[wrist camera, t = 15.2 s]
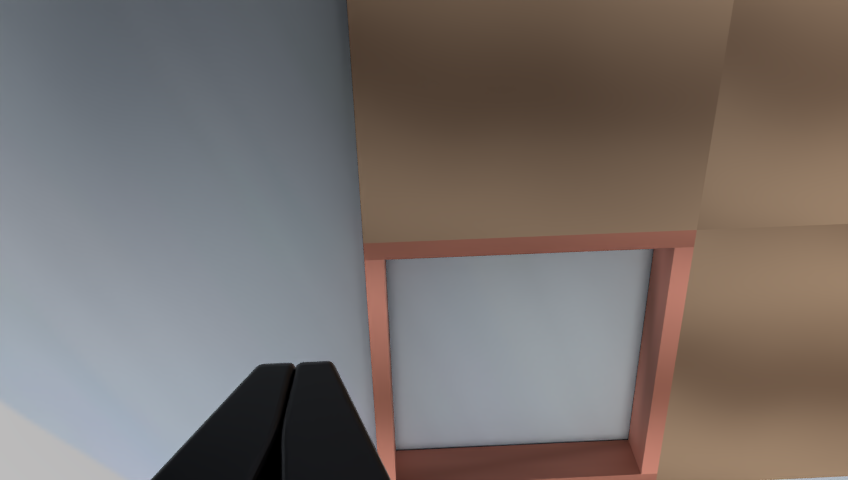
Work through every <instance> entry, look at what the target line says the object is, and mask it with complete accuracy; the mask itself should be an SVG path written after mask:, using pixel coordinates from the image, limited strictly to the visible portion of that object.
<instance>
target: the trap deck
mask: <svg viewBox="0 0 848 480" xmlns="http://www.w3.org/2000/svg"><path fill="white" fill-rule="evenodd" d="M347 13H348V27H349V42H350V57H351V71H352V86H353V101H354V115H355V130H356V145H357V159H358V174H359V189H360V203H361V218H362V233H363V247H364V262H365V276H366V291H367V306H368V320H369V335H370V350H371V364H372V379H373V394H374V408H375V423H376V438H377V452H378V455H379V457H380V459H381V461H382V463H383V465H384V467H385V469H386V471H387V473H388V475H389V477H390V479H391V480H775V479H796V478H816V477H837V476H848V0H347ZM633 249H654V252H653V259H652V267H651V274H650V282H649V289H648V297H647V304H646V311H645V319H644V326H643V334H642V341H641V349H640V356H639V364H638V371H637V378H636V386H635V393H634V401H633V408H632V416H631V423H630V431H629V438H628V440H615V441H593V442H572V443H551V444H530V445H508V446H487V447H466V448H445V449H423V450H402V451H396V447H395V428H394V409H393V390H392V372H391V353H390V334H389V315H388V296H387V278H386V260H389V259H413V258H438V257H462V256H486V255H511V254H535V253H560V252H584V251H608V250H633Z"/></svg>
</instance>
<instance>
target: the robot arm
mask: <svg viewBox="0 0 848 480" xmlns="http://www.w3.org/2000/svg"><path fill="white" fill-rule="evenodd" d="M151 480H391V479H390V477H389V475H388V473H387V471H386V469H385V467H384V465H383V463H382V461H381V459H380V457H379V455H378V452H377V450H376V448H375V446H374V444H373V442H372V440H371V438H370V436H369V434H368V432H367V430H366V428H365V426H364V424H363V422H362V420H361V418H360V416H359V414H358V412H357V410H356V408H355V406H354V404H353V402H352V400H351V398H350V396H349V394H348V392H347V390H346V388H345V386H344V384H343V382H342V380H341V378H340V375H339V373H338V371H337V369H336V367H335V366H334V364H333V363H332V362H330V361H319V362H302V363H300V364H298V365H297V366H296V367H295V366H294V364H292V363H273V364H261V365H259V366H257V367H256V368H255V369H254V370H253V371H252V372H251V373H250V374H249V376H248V377H247V378H246V379H245V380H244V381H243V382H242V383H241V384H240V385H239V386H238V387H237V388H236V389H235V390H234V392H233V393H232V394H231V395H230V396H229V397H228V398H227V399H226V400H225V401H224V402H223V403H222V404H221V405H220V406H219V408H218V409H217V410H216V411H215V412H214V413H213V414H212V415H211V416H210V417H209V418H208V419H207V420H206V421H205V422H204V424H203V425H202V426H201V427H200V428H199V429H198V430H197V431H196V432H195V433H194V434H193V435H192V436H191V437H190V438H189V440H188V441H187V442H186V443H185V444H184V445H183V446H182V447H181V448H180V449H179V450H178V451H177V452H176V453H175V454H174V456H173V457H172V458H171V459H170V460H169V461H168V462H167V463H166V464H165V465H164V466H163V467H162V468H161V469H160V470H159V472H158V473H157V474H156V475H155V476H154V477H153V478H152V479H151Z"/></svg>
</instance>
